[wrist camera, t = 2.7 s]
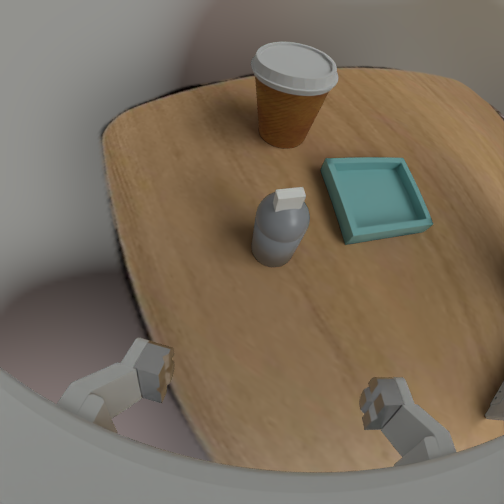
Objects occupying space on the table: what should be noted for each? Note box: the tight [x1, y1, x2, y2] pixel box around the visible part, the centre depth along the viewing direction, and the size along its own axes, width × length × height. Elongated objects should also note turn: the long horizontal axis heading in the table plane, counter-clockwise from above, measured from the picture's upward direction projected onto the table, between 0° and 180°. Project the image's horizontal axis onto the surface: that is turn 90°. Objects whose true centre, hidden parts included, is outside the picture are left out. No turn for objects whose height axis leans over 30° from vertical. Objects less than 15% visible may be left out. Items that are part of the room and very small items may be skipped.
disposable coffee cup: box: [251, 42, 338, 148], centre depth 29 cm, size 10×10×12 cm
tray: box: [320, 158, 433, 245], centre depth 30 cm, size 12×10×2 cm
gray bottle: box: [252, 187, 310, 267], centre depth 24 cm, size 4×4×10 cm
